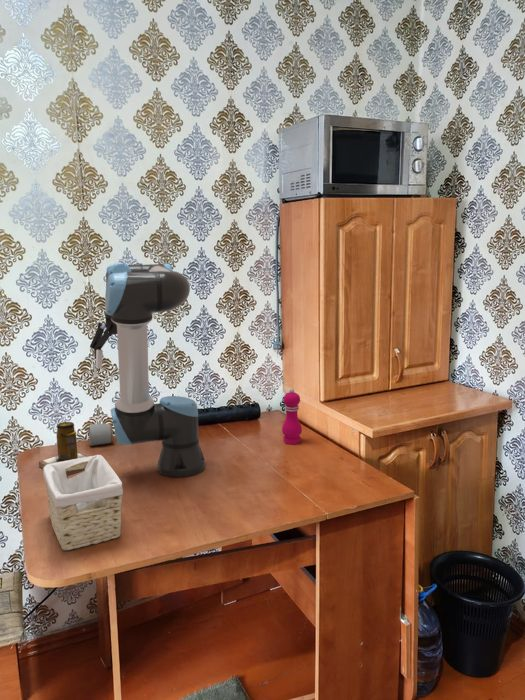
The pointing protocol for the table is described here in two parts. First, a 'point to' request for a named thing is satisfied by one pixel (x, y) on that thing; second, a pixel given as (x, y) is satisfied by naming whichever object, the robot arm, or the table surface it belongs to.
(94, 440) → the ceramic mug
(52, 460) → the writing board
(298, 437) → the pepper mill
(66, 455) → the condiment
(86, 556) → the table surface
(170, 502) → the table surface
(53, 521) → the storage basket
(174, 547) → the table surface
